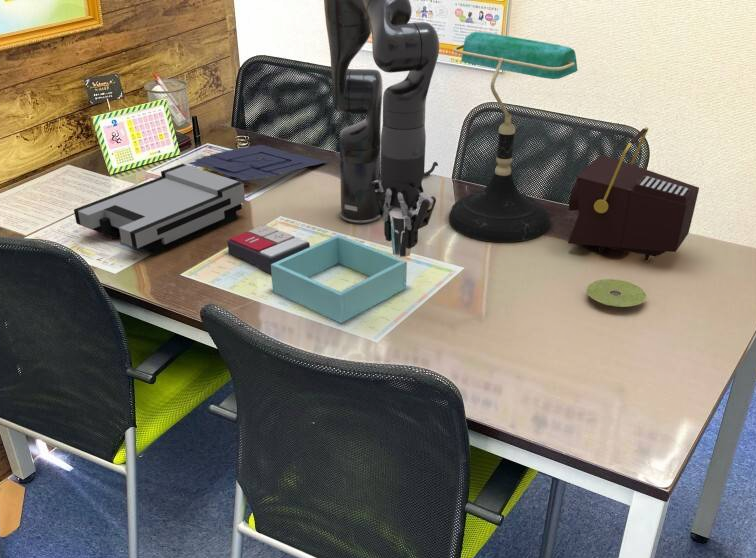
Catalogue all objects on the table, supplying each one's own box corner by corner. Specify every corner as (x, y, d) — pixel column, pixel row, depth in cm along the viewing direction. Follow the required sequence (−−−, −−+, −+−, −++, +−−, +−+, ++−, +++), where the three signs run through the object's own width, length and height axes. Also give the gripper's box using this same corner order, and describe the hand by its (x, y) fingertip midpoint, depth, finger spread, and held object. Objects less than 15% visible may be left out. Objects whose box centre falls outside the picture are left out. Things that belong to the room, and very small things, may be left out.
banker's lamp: (573, 221, 201) (600, 39, 178) (521, 254, 186) (543, 60, 163) (478, 193, 215) (491, 21, 192) (422, 222, 200) (430, 40, 177)
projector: (584, 225, 199) (601, 116, 184) (687, 247, 189) (714, 133, 174) (559, 252, 187) (575, 138, 173) (668, 277, 177) (694, 157, 163)
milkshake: (383, 249, 159) (383, 197, 153) (412, 248, 159) (413, 196, 154) (386, 260, 155) (386, 207, 150) (415, 258, 156) (416, 205, 150)
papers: (182, 172, 224) (182, 158, 223) (260, 154, 246) (260, 141, 244) (251, 193, 212) (251, 178, 211) (327, 172, 234) (328, 158, 232)
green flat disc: (648, 293, 171) (650, 285, 170) (639, 319, 163) (641, 310, 162) (591, 283, 175) (593, 274, 174) (579, 308, 167) (581, 299, 166)
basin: (338, 260, 184) (337, 234, 181) (406, 288, 174) (407, 261, 170) (272, 291, 173) (270, 264, 170) (341, 323, 162) (340, 295, 159)
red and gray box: (265, 222, 192) (310, 239, 183) (267, 240, 194) (311, 258, 185) (225, 237, 186) (270, 255, 176) (228, 256, 188) (272, 274, 179)
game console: (79, 238, 194) (72, 204, 189) (186, 195, 215) (182, 163, 210) (139, 264, 184) (133, 228, 179) (246, 216, 204) (243, 183, 199)
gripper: (450, 153, 144) (444, 248, 154) (386, 135, 152) (384, 226, 162) (421, 165, 140) (417, 262, 150) (357, 145, 148) (357, 238, 158)
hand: (400, 242), depth 156 cm, fingers closed on milkshake, 4 cm apart
